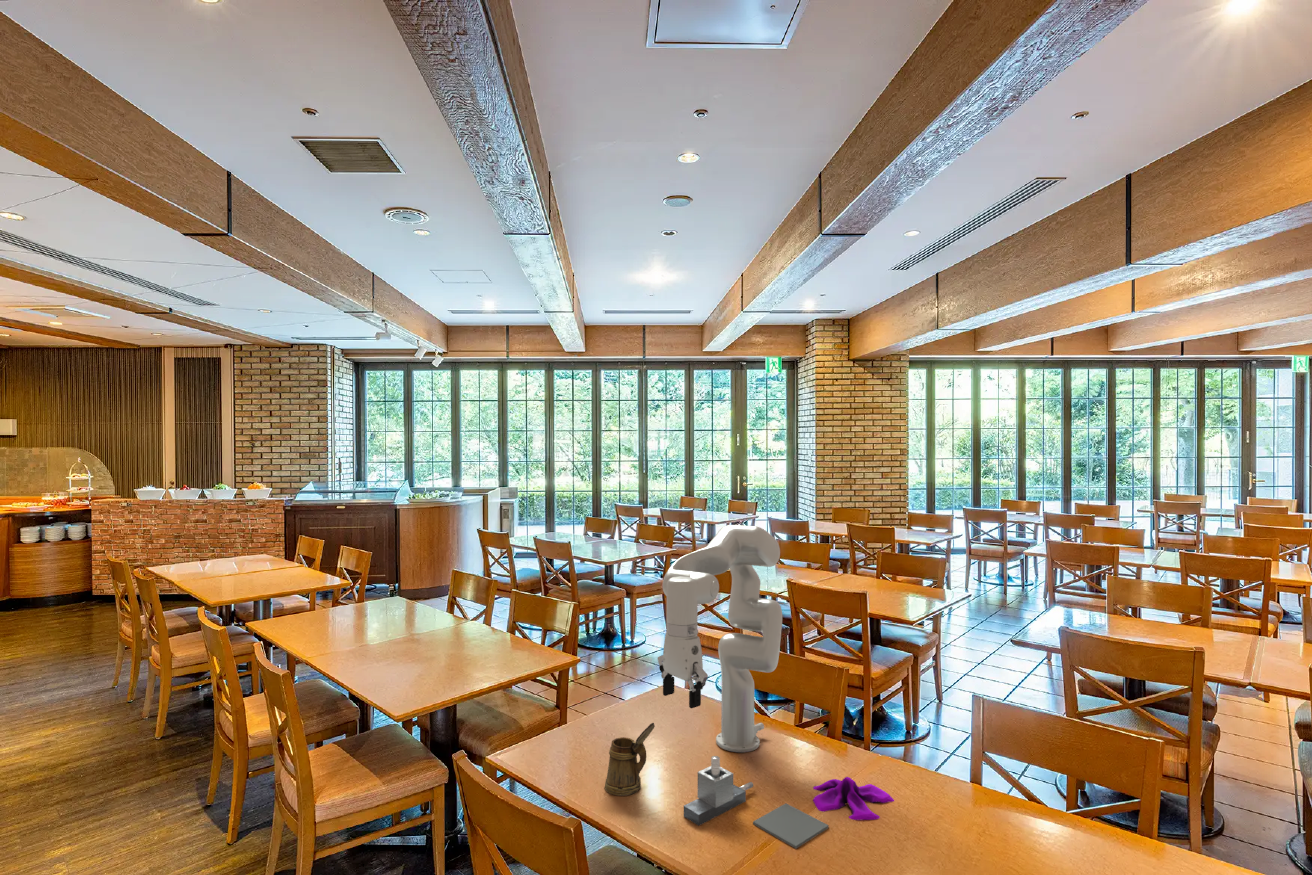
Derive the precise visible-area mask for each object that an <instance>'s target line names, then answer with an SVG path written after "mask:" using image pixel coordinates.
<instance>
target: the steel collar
mask: <svg viewBox="0 0 1312 875" xmlns="http://www.w3.org/2000/svg"><path fill="white" fill-rule="evenodd" d="M733 785H734V772H731V771H730V770H727V769H726V768H723V767H722V766H720V777H718V778H716V779H715V778H713V777H712V776H711V765H710V766H708V767H705V768H704V769H701V770H699V771H697V799H698V798H699V799H701V800H703V801H705V802H706V803H708V804H710V805H711V806H713V807H715V808H717V807H719V806H721V805H722V804H724V803H726V802H728V801H730V800H732V799H733Z"/></svg>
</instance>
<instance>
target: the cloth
mask: <svg viewBox="0 0 1312 875" xmlns="http://www.w3.org/2000/svg"><path fill="white" fill-rule="evenodd" d="M812 787H813V790H815V791H818V792H819V791H820V792H822V791H823V792H822V793H818V794H817V795H815V796H814V798H813V799H812V801H813V804H814V805H815V807H816V808H817V810H818V811H820V812H822V813H824V812H827V811H835V810H840V809H842V808H843V807H847V805H848V807H849V808H850V810H851V815H849V816H848V819H850V820H853V821H865V820H866V821H870V820H873V821H874V820H878V819H880V818H881V817H880V815H878V814H877V813H874V812H873V811H872V810H871V809H870V808H869V807H868V805H867V804H866V802H868V803H871V804H874V803H880V804H885V803H892V802H895V799H894V798H893V797H892V796H891V795H890V794H889V793H888V792H886V791H884V790H883V789H881V788H879V787H878V786H876V785H874V784H872V783H868V784H865V786H864V785H862V786H858V784H857V783H856V781H855V780H854V779H852V778H851V777H849V776H846V777H844V778H843V779H842V780H841V779H836V778H833V779H829V780H827V781H825V782H823V783H821V784H819V785H815V786H812ZM846 804H847V805H846Z"/></svg>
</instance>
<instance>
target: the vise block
mask: <svg viewBox="0 0 1312 875" xmlns="http://www.w3.org/2000/svg"><path fill="white" fill-rule="evenodd" d="M720 761H721V758H720V756H718V755H712V756H711V761H710V762H711V763H710V764H711V765H710V766H711V776H712V777H713V778H715V779H716V778H718V777H720V767H721V762H720ZM753 787H754V783H753V782H752V781H749V782H748V783H745V784H743V785H742V786H738V785H735V784H733V799H732V800H730V801H728V802H726V803H724V804H722V805H721V806H719V807H717V808H715V807H713V806H711V805H710V804H708V803H706V802H705V801H703V800H701V799H699V798H698V797H697V798H696V799H695V800H692V801H690V802H688V803H686V804H684V805H683V818H686V819H687V820H688V821H690V822H691V823H693V824H695V825H696V826H698V827H699V826H701V825H704V824H705V823H708V822H709V821H711V820H713V819H714V818H717V817H719V816H720V815H723V814H725V813H726V812H729V811H730V810H732V809H734V808H736V807H737V806H740V805H741V804H742V805H743V803H745V802H747V801H746V800H747V799H746V796H747V795H746V794H747V793H746V792H747V791H748V790H749V789H751V788H753Z"/></svg>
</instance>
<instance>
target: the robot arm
mask: <svg viewBox="0 0 1312 875" xmlns="http://www.w3.org/2000/svg"><path fill="white" fill-rule="evenodd" d="M780 556H781V548H780V545H779V542H778V541H777V539H776V538H775V537H774V536H773V535H771V533H769V532H768V531H767V530H765V529H764V528H762V527H760V526H754V525H742V524H741V525H740V524H739V525H738V524H728V525H724V526H723V527H721V528H720V529H719V530H718V532H717V533H716V534H715V535H714V537H713V538H712V539H711V541H709V543H708V544H707V545H706V546H705V547H703V548H700V549H697V550H695V551H693V552H690V553H688V554H685V555H683V556H681V557H679V558H677V559H676V560H675V561H674V562H673V564H672V565H671V566H670V567H669V568H668V569H667V571H666V573H665V574H664V577H663V580H662V591H663V593H664V595H665V596H666V623H665V624H666V625H665V626H666V628H665V630H666V632H665V636H664V643H663V654H662V655H659V656H657V663H658V665H659V668H658V669H659V671H660V673H661V674H660V675H661V676H660V677H661V679H662V695H663V696H666V697H667V696H669V695H674V694H675V678H678V679H680V680H683V681H685V682H687V684H688V686H689V688H690V690H689V691H688V707H689V709H695V708H697V707H700V706H701V705H702V702H701V701H702V700H701V699H702V690H703V688H704V686H706V684H707V683H706V682H707V680H708V678H709V674H708V673H707V672H706V671H705V670H704V669H703V668H704V665H703V664H704V663H703V662H704V661H703V650H702V644H701V639H700V636H698V633H699V628H698V607H699V605H705V604H710V603H712V602H713V601H714V600H715V599H716V598H717V597H718V594H719V591H720V584H719V580H718V578H717V577H716V576H717V575H721V574H724V573H725V572H727V571H730V574H731V586H730V587H731V589H730V596H729V597H730V598H729V604H728V613H727V616H728V618H727V619H728V622H729V624H730V626H732V627H734V628H737V629H741V630H747V631H752V632H753V631H754V632H761V633H762V636H757V635H751V634H747V633H739V632H729V633H725V634H724V635H722V637H720V639H719V642H718V645H717V646H718V649H717V651H718V657H719V663H720V671H721V675H720V676H721V730H720V731H721V732H720V733H718V734H717V735H716V737H715V743H716V745H717V746H718V747H719V748H721V749H723V750H725V751H727V752H731V753H732V752H734V753H748V752H753V751H754V750H755V751H756V749H758V748H759V746H760V742H761V741H760V739H759V738H760V737H758V736H757V733H758V732H759V731H761V730H764V728H765V725H764V723H763V722H759V723H756V724H755V680H754V679H753V678H754V677H753V676H752V673H751V672H750V671H755V672H760V673H761V672H762V673H772V672H774V671H775V670H776V669H777V667H778V663H779V659H780V658H779V656H780V648H781V647H780V646H781V639H782V628H783V610H782V607H781V605H780V603H779V602H778V601H777V600H774V599H771V598H763V597H762V598H761V597H760V591H761V579H760V576H759V575H758V573H757V571H756V570H755V568H754V567H753V566H756V567H757V566H758V567H765V568H766V567H767V568H771V567H774V566H776V565H777V564H778V563H779V560H780ZM694 682H695V683H694Z"/></svg>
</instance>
